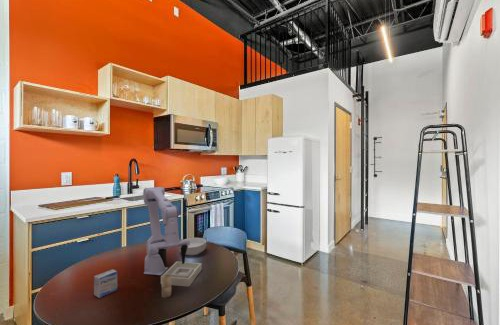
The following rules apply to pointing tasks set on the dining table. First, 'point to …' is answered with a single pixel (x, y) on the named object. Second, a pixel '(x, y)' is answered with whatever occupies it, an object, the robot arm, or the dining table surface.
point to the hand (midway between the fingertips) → (174, 264)
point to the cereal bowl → (195, 246)
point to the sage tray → (183, 273)
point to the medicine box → (105, 283)
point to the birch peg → (166, 286)
